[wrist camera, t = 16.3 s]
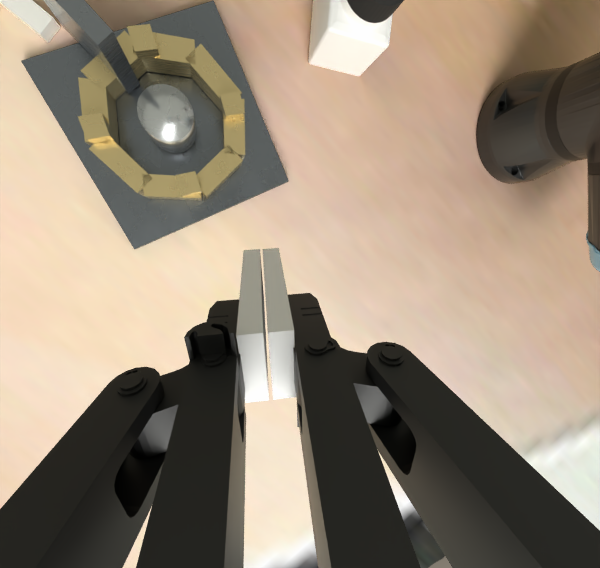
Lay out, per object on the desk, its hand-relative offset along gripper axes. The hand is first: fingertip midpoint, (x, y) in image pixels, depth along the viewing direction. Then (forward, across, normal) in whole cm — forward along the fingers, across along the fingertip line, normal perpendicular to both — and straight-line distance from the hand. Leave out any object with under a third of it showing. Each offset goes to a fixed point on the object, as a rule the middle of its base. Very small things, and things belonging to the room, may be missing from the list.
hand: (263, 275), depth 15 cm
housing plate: (+27, -9, +6) cm, 29 cm away
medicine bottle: (+33, +11, +16) cm, 38 cm away
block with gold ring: (+26, -10, +8) cm, 29 cm away
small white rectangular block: (+28, -21, +16) cm, 38 cm away
